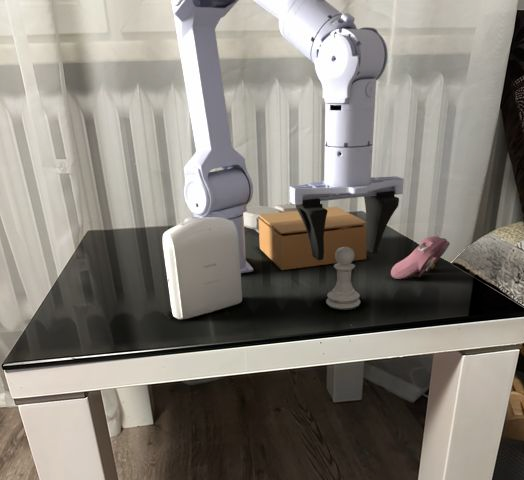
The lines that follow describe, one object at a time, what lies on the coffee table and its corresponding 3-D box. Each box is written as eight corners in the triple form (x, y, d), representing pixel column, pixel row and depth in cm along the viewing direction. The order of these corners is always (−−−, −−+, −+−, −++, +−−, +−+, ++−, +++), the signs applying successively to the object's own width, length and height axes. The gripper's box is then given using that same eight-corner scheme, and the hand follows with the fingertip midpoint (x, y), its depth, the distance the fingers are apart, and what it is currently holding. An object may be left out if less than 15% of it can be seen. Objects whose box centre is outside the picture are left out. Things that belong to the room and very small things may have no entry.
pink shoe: (410, 293, 81) (435, 256, 76) (386, 275, 82) (409, 237, 77) (435, 274, 88) (460, 239, 83) (413, 258, 89) (435, 222, 84)
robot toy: (289, 221, 119) (227, 226, 113) (290, 200, 117) (227, 204, 111) (319, 233, 109) (253, 239, 103) (321, 210, 107) (253, 215, 101)
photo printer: (180, 323, 70) (169, 229, 65) (166, 313, 74) (155, 222, 68) (247, 304, 75) (242, 215, 69) (231, 295, 78) (226, 209, 73)
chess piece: (350, 295, 77) (352, 240, 73) (366, 306, 73) (370, 249, 69) (320, 300, 76) (320, 244, 72) (335, 312, 72) (337, 254, 68)
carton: (281, 270, 88) (280, 232, 85) (259, 248, 99) (258, 214, 96) (366, 259, 91) (368, 222, 88) (335, 239, 102) (336, 206, 99)
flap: (269, 225, 91) (269, 223, 90) (258, 216, 96) (258, 214, 96) (350, 216, 94) (351, 214, 94) (336, 208, 99) (336, 206, 99)
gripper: (303, 153, 60) (303, 270, 66) (420, 143, 63) (410, 256, 69) (283, 146, 66) (285, 254, 72) (390, 138, 69) (384, 242, 75)
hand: (345, 254), depth 71 cm, fingers open, 7 cm apart
